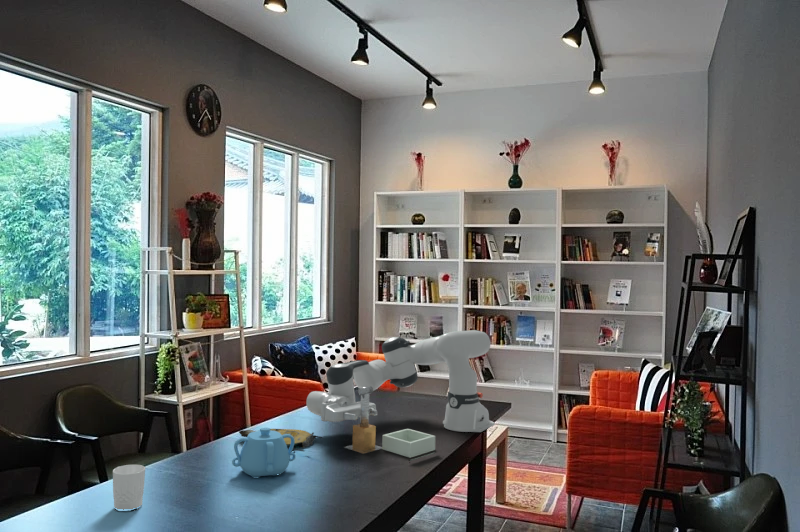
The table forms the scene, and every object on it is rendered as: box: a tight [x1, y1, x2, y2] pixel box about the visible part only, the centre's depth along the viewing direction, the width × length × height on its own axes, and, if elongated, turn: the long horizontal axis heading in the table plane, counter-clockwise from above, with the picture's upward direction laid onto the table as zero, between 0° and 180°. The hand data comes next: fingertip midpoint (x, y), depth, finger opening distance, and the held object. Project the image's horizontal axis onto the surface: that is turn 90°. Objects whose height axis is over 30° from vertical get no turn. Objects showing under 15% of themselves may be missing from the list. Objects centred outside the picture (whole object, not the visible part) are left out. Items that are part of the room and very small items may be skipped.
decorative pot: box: [231, 427, 297, 478], centre depth 197 cm, size 16×16×14 cm
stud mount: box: [343, 444, 383, 455], centre depth 222 cm, size 10×10×8 cm
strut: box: [351, 386, 377, 451], centre depth 222 cm, size 6×6×21 cm
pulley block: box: [238, 428, 323, 452], centre depth 227 cm, size 14×6×30 cm
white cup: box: [112, 464, 146, 510], centre depth 167 cm, size 8×8×10 cm
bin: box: [381, 428, 436, 462], centre depth 221 cm, size 13×13×6 cm
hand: (366, 415), depth 221 cm, fingers open, 8 cm apart
